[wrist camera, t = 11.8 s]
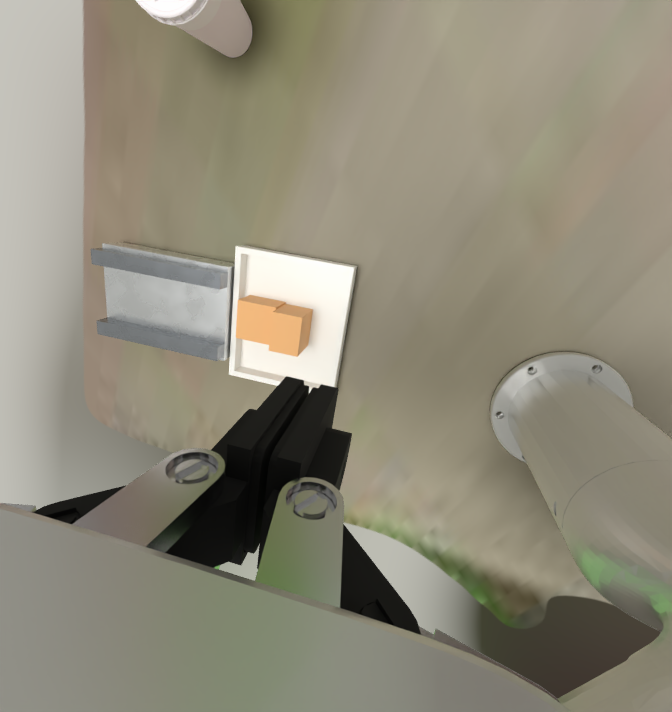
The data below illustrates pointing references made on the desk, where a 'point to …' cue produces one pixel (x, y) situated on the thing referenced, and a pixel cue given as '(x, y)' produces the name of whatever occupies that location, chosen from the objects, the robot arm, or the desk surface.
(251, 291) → the tray
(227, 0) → the smoothie
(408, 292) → the desk surface
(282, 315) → the orange square block
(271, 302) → the chip
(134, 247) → the slot block
